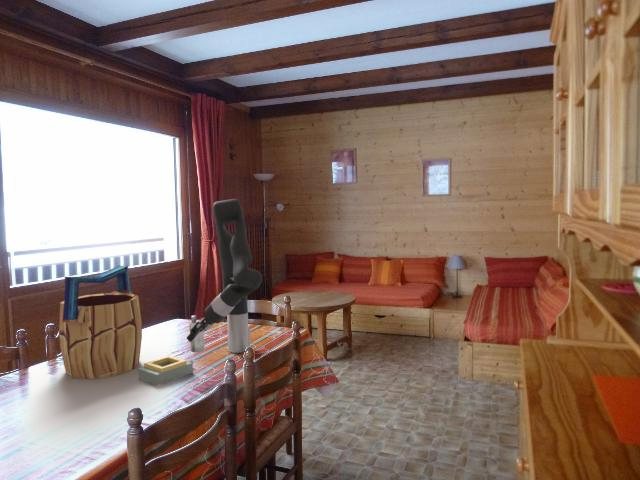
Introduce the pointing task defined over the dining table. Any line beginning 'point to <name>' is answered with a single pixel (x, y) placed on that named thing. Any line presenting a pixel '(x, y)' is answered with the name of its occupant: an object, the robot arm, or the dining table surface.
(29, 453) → the dining table surface
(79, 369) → the bucket
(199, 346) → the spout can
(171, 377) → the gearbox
